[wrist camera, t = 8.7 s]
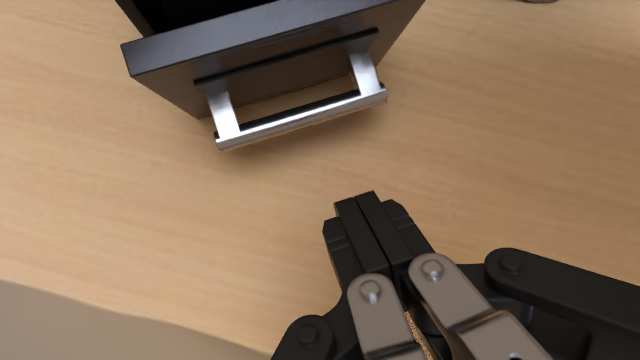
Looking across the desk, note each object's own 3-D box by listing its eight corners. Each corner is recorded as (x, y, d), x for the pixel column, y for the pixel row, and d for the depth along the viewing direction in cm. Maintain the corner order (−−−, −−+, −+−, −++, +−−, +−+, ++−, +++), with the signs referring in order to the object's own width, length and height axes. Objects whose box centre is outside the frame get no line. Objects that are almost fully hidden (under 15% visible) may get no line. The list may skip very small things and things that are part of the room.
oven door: (390, 109, 31) (457, 63, 19) (211, 164, 30) (155, 154, 18) (371, 47, 31) (425, -43, 19) (191, 100, 30) (118, 43, 18)
